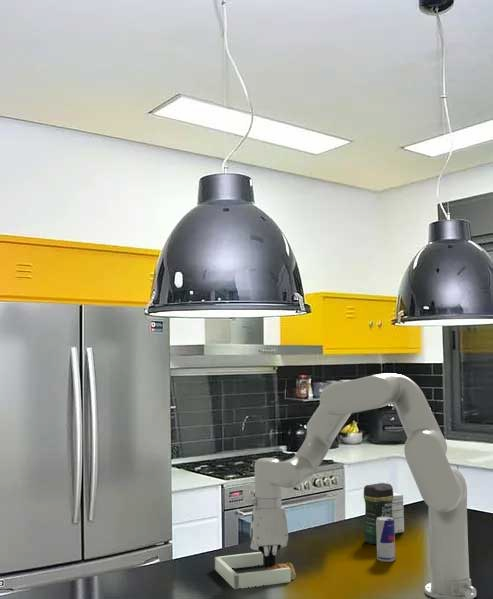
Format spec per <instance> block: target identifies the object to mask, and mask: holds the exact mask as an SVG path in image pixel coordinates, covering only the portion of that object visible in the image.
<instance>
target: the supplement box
mask: <svg viewBox="0 0 493 599" xmlns="http://www.w3.org/2000/svg"><path fill="white" fill-rule="evenodd" d="M404 510H405V509H404V495H403V494H400V493H396V492H394V491H393V501H392V516H393V520H394V528H395V534H398V533H399V534H400V533H404V532H405V516H404V515H405V514H404V512H405V511H404Z"/></svg>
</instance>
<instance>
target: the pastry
mask: <svg viewBox="0 0 493 599" xmlns="http://www.w3.org/2000/svg"><path fill="white" fill-rule="evenodd" d="M288 567H289V568H290V569H291V581H292V580H295V579H296V572H295V571H296V570H295V568H294V565H293V564H292V563H291V562H286V563H275V565H274V566H272V567H270V568H267V569H266V568H264V569H263V570H262V571H264V570H272V569H280V568H288Z"/></svg>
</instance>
